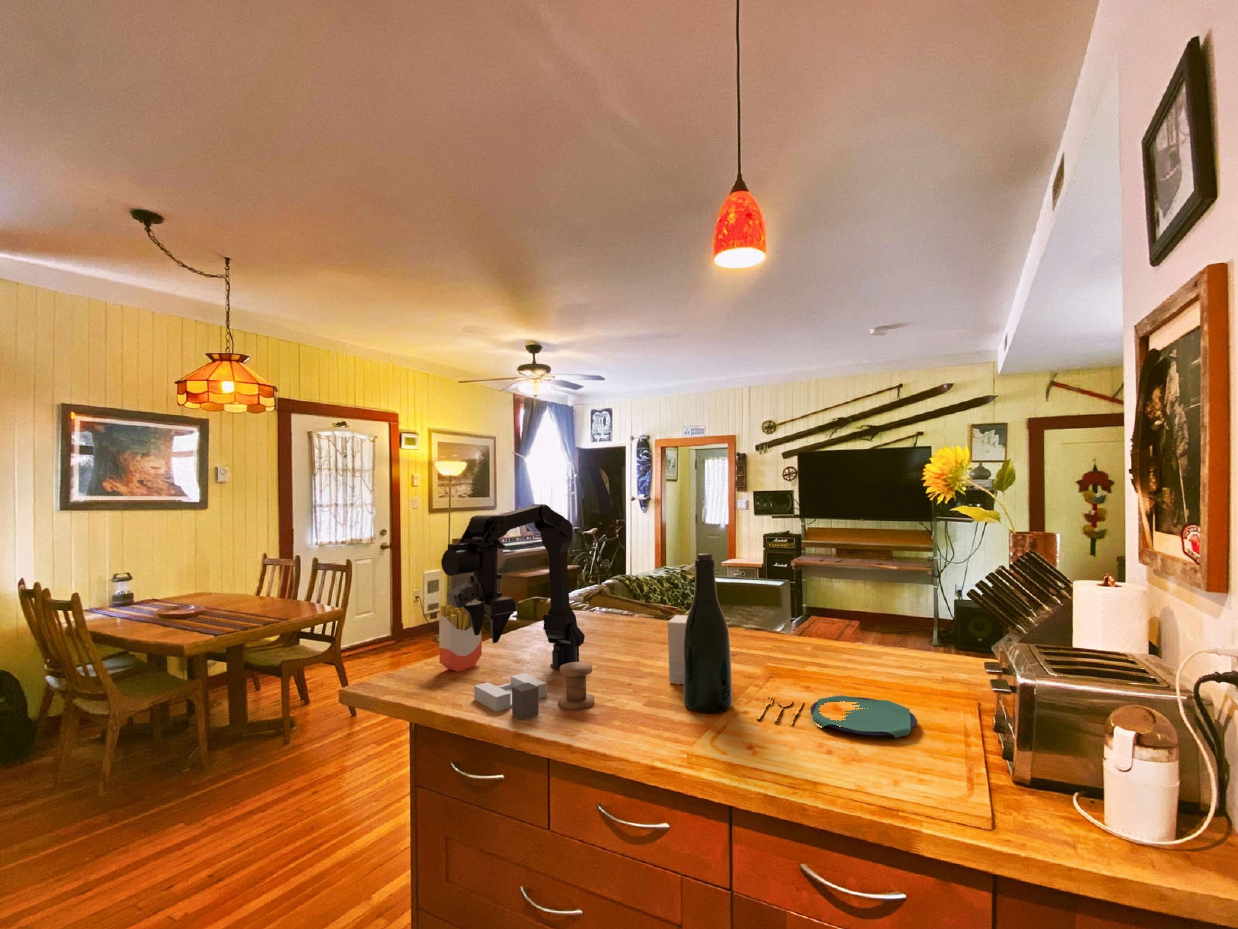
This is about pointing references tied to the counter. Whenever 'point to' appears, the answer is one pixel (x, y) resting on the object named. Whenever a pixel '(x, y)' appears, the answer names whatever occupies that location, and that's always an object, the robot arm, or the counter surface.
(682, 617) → the supplement box
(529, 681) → the notched board
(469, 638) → the french fries container
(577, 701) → the bobbin
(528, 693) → the block
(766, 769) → the counter surface
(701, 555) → the wine bottle
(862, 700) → the teal oval plate
